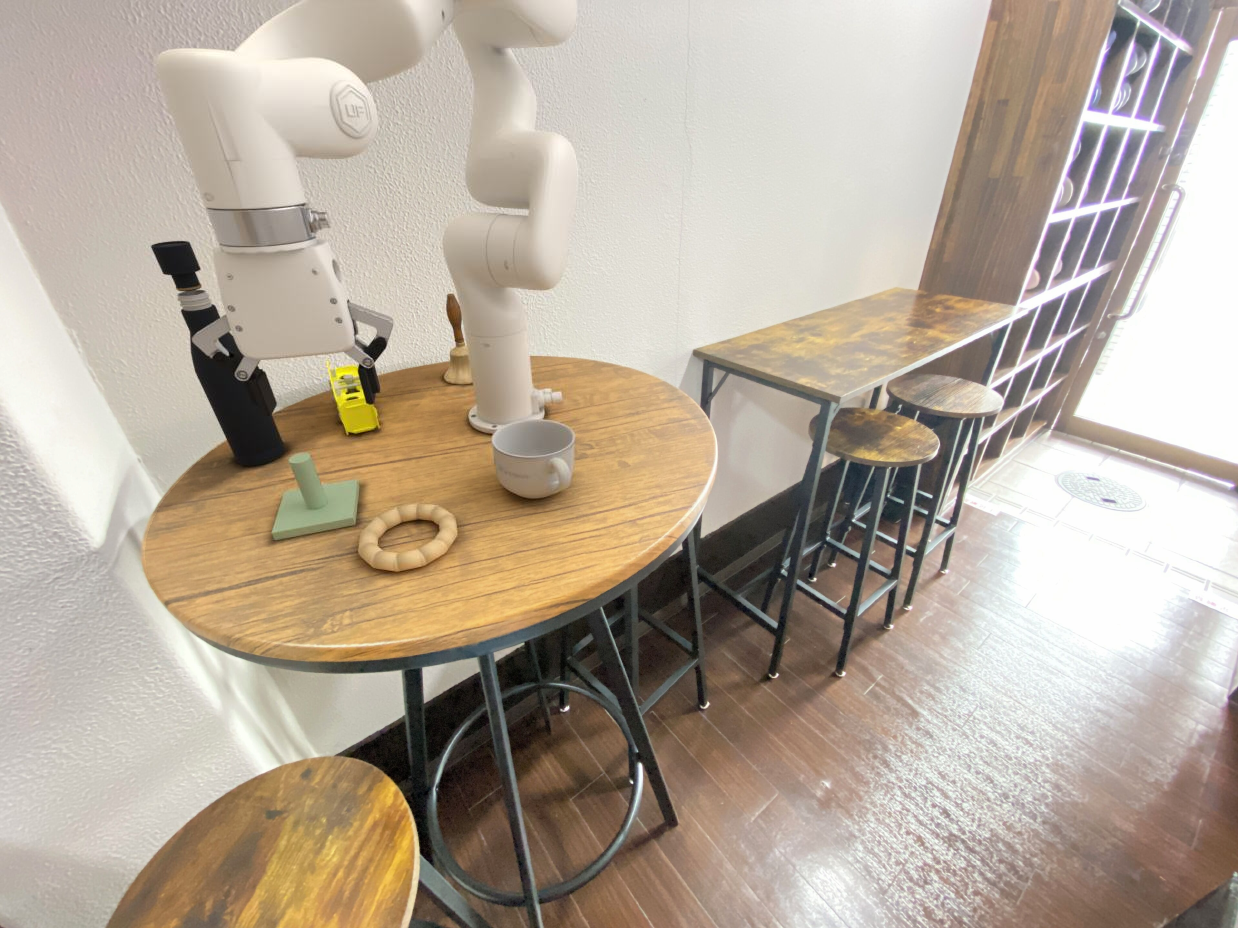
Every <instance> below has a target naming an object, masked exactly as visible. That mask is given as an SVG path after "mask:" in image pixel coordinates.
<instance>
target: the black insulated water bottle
mask: <svg viewBox="0 0 1238 928" xmlns="http://www.w3.org/2000/svg"><path fill="white" fill-rule="evenodd" d="M150 248H151V250H152V253H153V255H154V257H155V259H156V261H157V264H158V266H159V268H160V270H161V272H162V275H164V276H171V279H172V281H173V283H174V285H175V289H176V291H179V292H178V293H177V294H176V296H177V301H178V302H179V306H180V307H182V308H181V310H180V312H181V315H182V317H183V320H184V322H185V324H186V326H187V328H188V331H189V342H190V343H189V344H190V355H191V361H192V366H193V369H194V373H195V375H196V377H197V379H198V381H199V383H200V385H201V388H202V390H203V392H204V394H205V396H206V398H207V400H208V403H209V405H210V407H211V409H212V411H213V413H214V415H215V418H216V420H217V422H218V424H219V426H220V429H221V430H222V432H223V435H224V437H225V439H226V441H227V443H228V445H229V447H230V450H231V452H232V454H233V457H234V458H235V460H236V463H238V465H240V466H243V467H258V466H262V465H266V464H269V463H271V462H274V461H276V460H278V459H279V458H281V457H282V456H283V455H284V454H285V452H286V446H285V444H284V441H283V439H282V436H281V434H280V431H279V428H278V426H277V423H276V422H275V419H274V416H273V414H272V415H270V417H263V416H262V414H261V412H260V409H259V407H254V406H253V404H252V402H251V399H250V397H249V394H248V392H247V389H246V387H245V384H244V382H243V381H241V380H238V379H237V378H236V377H235V374H233V373H231V372H229V371H227V370H225V369H223V368H222V367H220V366H218V365H216V364H215V363H214V362H213V361H212V358H211V357H209V356H207V355H206V354H205V353H204V352H203V351H202V350H201V349H200V348H198V347H197V346H196V345H195V344H194V343H193V342H192V337H193V336H194V335H195V334H196V333H197V332H199V331H200V330H202V329H203V328H205V327H207V326H208V325H210V324H211V323H213V322H214V321H216V320H218V319H219V318H221V315H220V314H219V310H218V308H217V306H216V305H215V304H213V303H212V299H210V294H209V293H208V292H207V291H206V290H205V289H202V286H203V285H202V283H200V280H199V277H198V275H197V272H199V271H201V266H200V263H199V261H198V258H197V257H196V254H195V251H194V250H193V249H194V248H193V246H192V244H191V242H190V241H188V240H170V241H161V242H156V243H154V244H151V245H150ZM218 340H219V342H220V343H221V344H222V346H223V347H224V348H226V349H228V350H230V351H232V352H234V353H235V354H237V355H239V356H241V357H242V358H243V357H244V355H243V354H242V353H241V352H240V350H239V349H238V347H237V344H236V342H235V340H234V337H233V334H232V332H231V331H229V332H228V333H226V334H225V335H223V336H221V337H220V338H218Z"/></svg>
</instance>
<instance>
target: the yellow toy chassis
mask: <svg viewBox="0 0 1238 928" xmlns="http://www.w3.org/2000/svg"><path fill="white" fill-rule="evenodd" d="M325 362H326V367H327V370H328V371H327V372H328V376H329V379H327V380H328V385H329V389H330V393H331V395H332V398H333V402H334V403H336V405H337V406H336V410H337V413H338V417H339V420H340V421H341V423H342V424H343V427H344V430H345V433H346V435H347V436H349V433H351V434H360V433H364V432H368V431H369V432H370V431H373V430H374V429H375V428H378V429H380V428H381V426H380V423H379V422H380V421H379V419H378V416H379V413H378V409H377V408H376V407H375V403H374V404H372V405H369V404H366V401H365V397H364V393H363V390H362V386H361V382H360V379H359V375H358V367H359V363H358V362H357V365H358V366H357V365H354V364H350V365H344V366H339V367H335V365H334V363H330V362H329V361H328V359H325Z"/></svg>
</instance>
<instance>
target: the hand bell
mask: <svg viewBox="0 0 1238 928" xmlns="http://www.w3.org/2000/svg"><path fill="white" fill-rule="evenodd" d="M445 311H446V316H447V320H448V321H449V323H450V326H451V328H452V331H453V338H454V342H455V346H454V347H453V348H451V349H450V350H449V366H448V369H447V371H445V373H444V376H443V379H444V381H445V382H447V383H448V384H450V385H458V386H459V385H460V386H461V385H464V386H465V385H471V384H473V382H472V376H471V369H470V363H469V357H468V351H467V345H466V341H465V339H464V338H465V337H464V334H463V330H462V324H463V320H462V314H461V309H460V304H459V300H458V299H457V298H456V296H455V294H454V293H447V294H446V303H445Z"/></svg>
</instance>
